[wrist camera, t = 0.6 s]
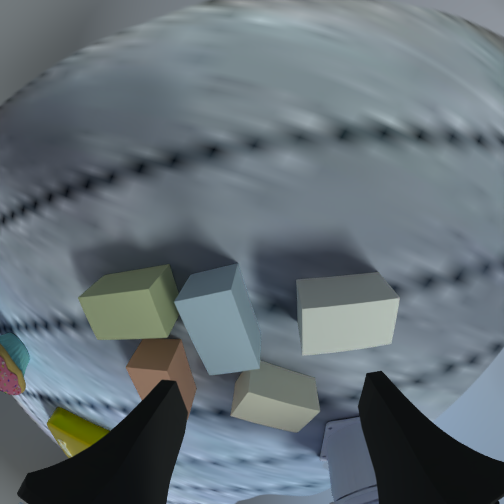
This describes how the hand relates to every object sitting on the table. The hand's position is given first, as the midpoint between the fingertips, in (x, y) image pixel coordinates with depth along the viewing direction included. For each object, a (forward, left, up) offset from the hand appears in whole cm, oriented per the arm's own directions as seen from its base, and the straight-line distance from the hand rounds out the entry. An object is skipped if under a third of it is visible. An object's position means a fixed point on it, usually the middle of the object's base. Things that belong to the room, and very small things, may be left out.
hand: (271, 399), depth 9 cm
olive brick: (0, +10, -10) cm, 14 cm away
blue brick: (-2, +3, -10) cm, 11 cm away
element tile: (-29, +28, -11) cm, 42 cm away
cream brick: (-10, 0, -10) cm, 14 cm away
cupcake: (-9, +33, -10) cm, 36 cm away
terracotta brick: (-8, +9, -10) cm, 16 cm away
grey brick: (-2, -5, -10) cm, 12 cm away
